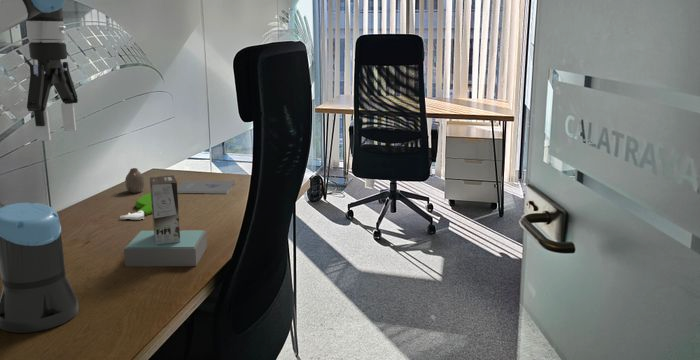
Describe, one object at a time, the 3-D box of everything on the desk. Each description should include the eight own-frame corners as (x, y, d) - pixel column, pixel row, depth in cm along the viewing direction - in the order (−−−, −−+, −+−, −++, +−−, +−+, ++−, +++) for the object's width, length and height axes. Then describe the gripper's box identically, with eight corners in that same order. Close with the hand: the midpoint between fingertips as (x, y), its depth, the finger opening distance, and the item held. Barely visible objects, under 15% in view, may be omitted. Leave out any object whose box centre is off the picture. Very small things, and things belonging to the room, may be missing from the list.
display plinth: (196, 266, 152) (195, 247, 151) (125, 266, 151) (123, 248, 150) (207, 246, 165) (206, 229, 164) (141, 247, 165) (140, 230, 164)
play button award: (184, 180, 235) (235, 180, 235) (185, 184, 235) (235, 184, 235) (172, 190, 219) (227, 191, 219) (173, 194, 219) (227, 195, 219)
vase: (121, 193, 219) (119, 170, 217) (133, 188, 225) (131, 166, 223) (137, 194, 217) (136, 171, 215) (149, 190, 223) (147, 167, 221)
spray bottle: (176, 200, 211) (149, 223, 188) (146, 199, 212) (115, 222, 188) (176, 192, 210) (148, 214, 187) (146, 192, 211) (115, 213, 187)
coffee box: (181, 242, 154) (177, 182, 150) (155, 245, 152) (150, 184, 148) (178, 231, 163) (174, 174, 159) (153, 234, 160) (149, 176, 156)
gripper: (37, 42, 120) (49, 145, 125) (86, 40, 144) (94, 126, 150) (0, 42, 120) (13, 145, 125) (55, 40, 144) (64, 126, 149)
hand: (57, 135), depth 137 cm, fingers open, 13 cm apart
